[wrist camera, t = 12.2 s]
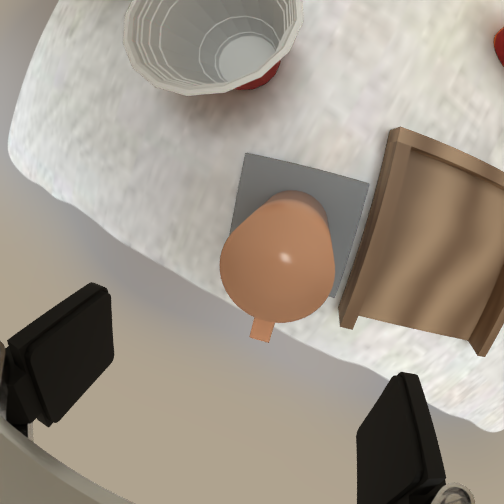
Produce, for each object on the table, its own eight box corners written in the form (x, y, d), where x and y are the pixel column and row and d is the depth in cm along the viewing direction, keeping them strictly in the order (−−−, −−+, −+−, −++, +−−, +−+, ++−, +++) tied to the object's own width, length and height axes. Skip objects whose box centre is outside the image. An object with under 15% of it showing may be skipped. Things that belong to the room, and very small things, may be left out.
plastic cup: (266, 140, 26) (228, 130, 15) (173, 85, 26) (94, 57, 14) (333, 47, 22) (341, -20, 11) (234, -1, 22) (187, -68, 10)
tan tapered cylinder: (265, 182, 26) (230, 200, 16) (336, 200, 25) (350, 232, 15) (244, 278, 29) (205, 342, 19) (309, 296, 29) (301, 369, 18)
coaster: (225, 265, 30) (223, 267, 30) (247, 153, 26) (245, 153, 26) (334, 295, 29) (334, 297, 28) (368, 183, 25) (369, 184, 24)
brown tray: (338, 307, 29) (339, 326, 26) (389, 130, 23) (400, 126, 20) (473, 339, 27) (485, 356, 24) (529, 192, 21) (548, 198, 18)
